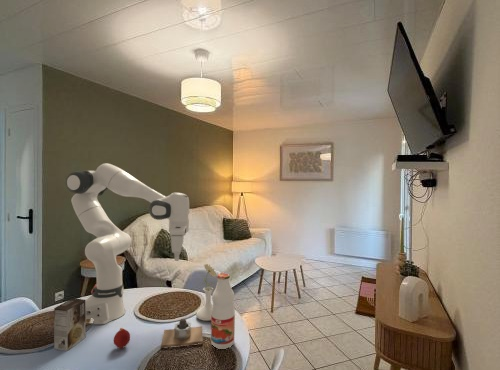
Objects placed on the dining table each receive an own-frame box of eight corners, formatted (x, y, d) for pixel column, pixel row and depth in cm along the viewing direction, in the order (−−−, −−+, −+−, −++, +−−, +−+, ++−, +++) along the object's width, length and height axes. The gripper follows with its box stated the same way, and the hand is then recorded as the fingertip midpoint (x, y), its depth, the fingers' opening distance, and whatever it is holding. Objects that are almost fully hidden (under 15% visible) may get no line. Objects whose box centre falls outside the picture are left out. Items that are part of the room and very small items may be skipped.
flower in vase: (222, 320, 125) (223, 267, 125) (198, 325, 121) (199, 270, 121) (215, 308, 137) (216, 260, 137) (193, 312, 133) (194, 262, 133)
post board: (160, 350, 103) (161, 327, 103) (164, 334, 114) (164, 314, 114) (202, 345, 107) (202, 324, 106) (202, 330, 117) (202, 310, 117)
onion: (125, 341, 108) (125, 322, 108) (132, 347, 104) (133, 327, 104) (110, 348, 103) (111, 328, 103) (117, 354, 100) (118, 333, 100)
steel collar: (174, 340, 107) (174, 330, 106) (175, 331, 113) (175, 322, 113) (190, 339, 108) (190, 329, 108) (190, 330, 114) (190, 321, 114)
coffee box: (72, 335, 112) (72, 297, 111) (86, 337, 110) (86, 299, 110) (53, 349, 103) (53, 307, 102) (67, 351, 101) (67, 309, 101)
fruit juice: (238, 340, 110) (239, 272, 110) (227, 353, 101) (228, 280, 101) (218, 334, 114) (219, 269, 114) (206, 346, 105) (207, 276, 105)
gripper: (174, 223, 133) (172, 251, 133) (169, 231, 113) (168, 264, 113) (186, 223, 134) (185, 251, 134) (184, 232, 114) (183, 264, 114)
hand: (177, 257), depth 123 cm, fingers open, 8 cm apart
